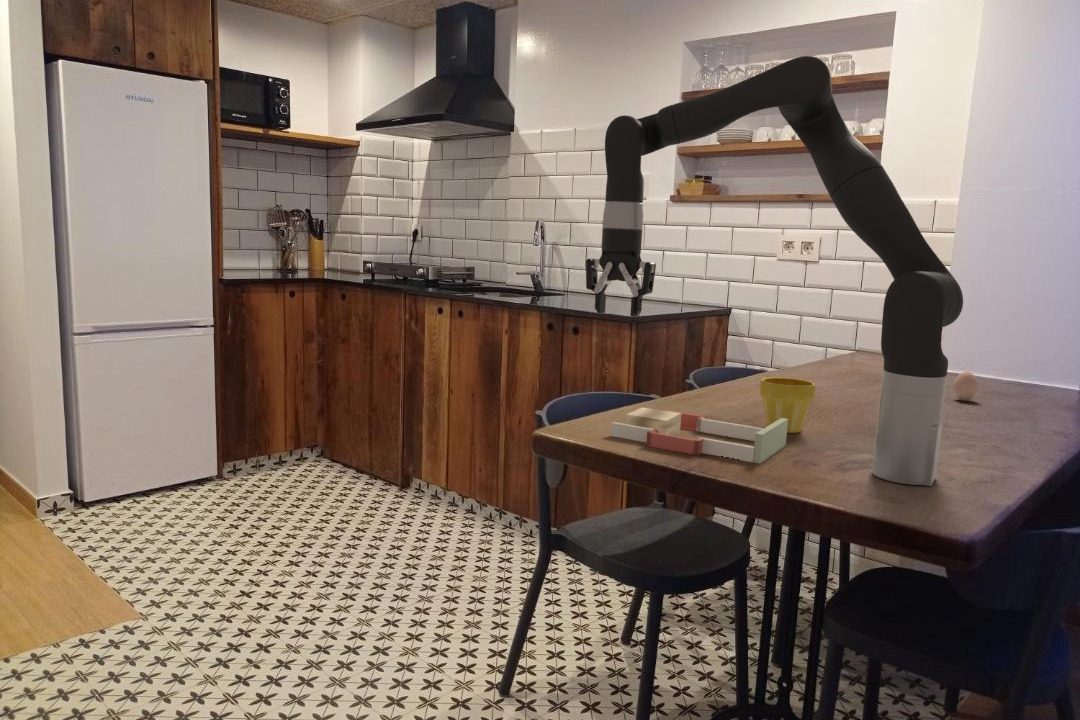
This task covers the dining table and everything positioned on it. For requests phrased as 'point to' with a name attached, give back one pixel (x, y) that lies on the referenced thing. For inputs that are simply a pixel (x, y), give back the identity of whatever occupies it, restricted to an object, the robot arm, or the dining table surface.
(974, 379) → the egg
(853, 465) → the dining table surface
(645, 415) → the birch block
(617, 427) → the trap lane
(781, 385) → the plant pot
